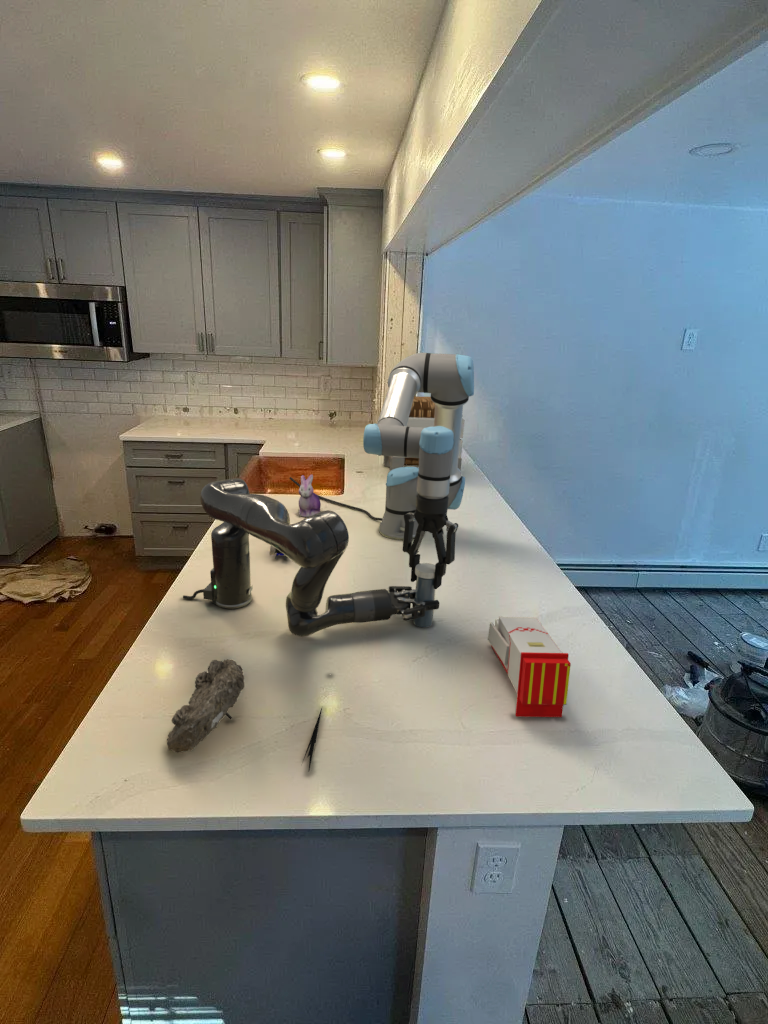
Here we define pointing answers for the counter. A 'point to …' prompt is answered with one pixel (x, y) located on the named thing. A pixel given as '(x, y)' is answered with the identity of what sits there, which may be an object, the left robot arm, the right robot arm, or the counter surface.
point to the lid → (425, 570)
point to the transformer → (421, 418)
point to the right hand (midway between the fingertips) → (425, 583)
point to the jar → (423, 594)
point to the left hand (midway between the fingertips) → (434, 599)
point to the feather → (313, 740)
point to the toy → (531, 665)
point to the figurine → (308, 498)
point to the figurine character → (274, 550)
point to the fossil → (206, 705)
